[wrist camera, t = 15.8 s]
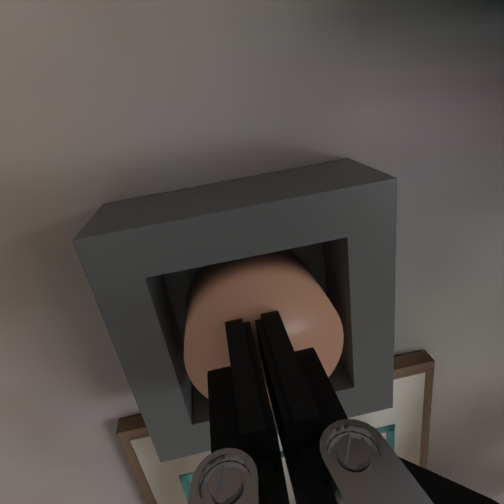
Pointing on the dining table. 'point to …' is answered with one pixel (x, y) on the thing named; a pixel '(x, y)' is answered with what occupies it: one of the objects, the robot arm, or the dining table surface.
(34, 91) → the dining table surface
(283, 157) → the dining table surface
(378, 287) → the button base
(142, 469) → the board
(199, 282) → the button
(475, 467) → the dining table surface
